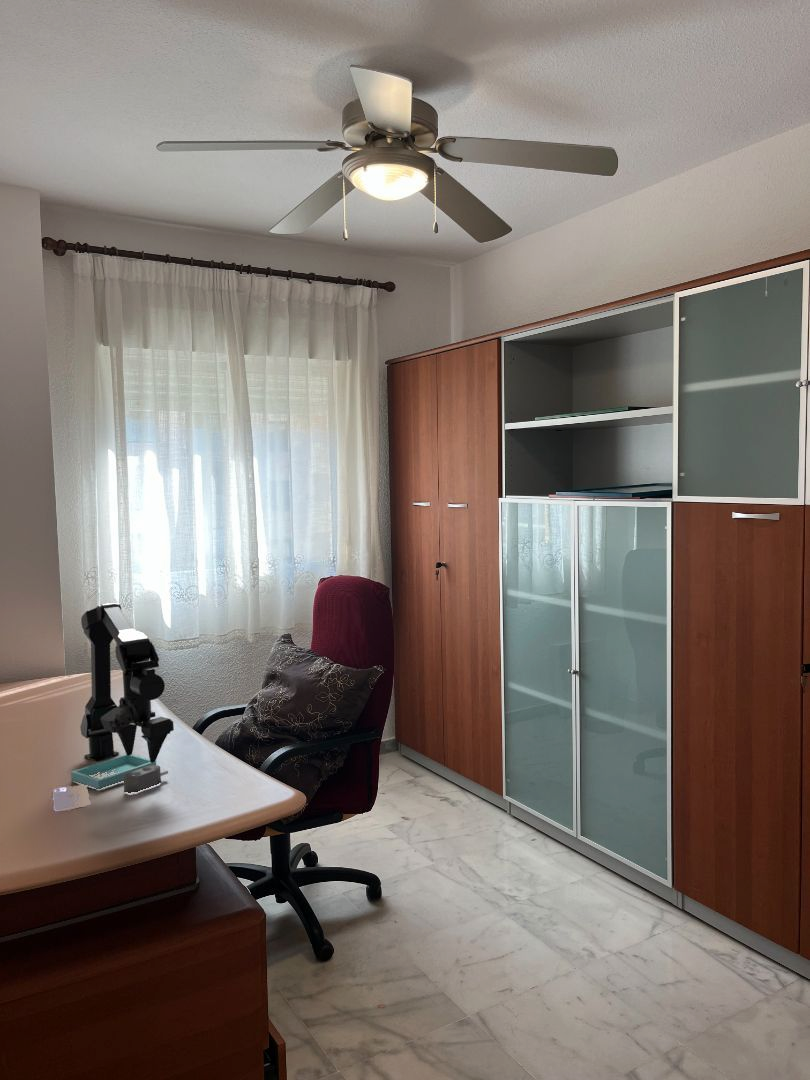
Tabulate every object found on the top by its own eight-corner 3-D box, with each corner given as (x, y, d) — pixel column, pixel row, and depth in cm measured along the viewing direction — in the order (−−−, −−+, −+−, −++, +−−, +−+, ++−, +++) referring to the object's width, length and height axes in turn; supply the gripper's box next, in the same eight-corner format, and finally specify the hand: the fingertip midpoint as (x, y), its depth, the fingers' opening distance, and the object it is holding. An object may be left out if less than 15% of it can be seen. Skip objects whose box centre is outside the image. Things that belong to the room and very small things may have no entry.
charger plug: (130, 796, 178) (129, 779, 177) (120, 793, 180) (119, 775, 180) (171, 781, 186) (170, 764, 186) (161, 778, 189) (160, 761, 189)
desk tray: (71, 782, 188) (71, 771, 188) (129, 762, 201) (128, 753, 201) (98, 791, 181) (98, 780, 181) (156, 771, 194) (156, 761, 194)
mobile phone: (53, 810, 170) (51, 788, 183) (54, 814, 170) (51, 792, 183) (91, 803, 173) (86, 782, 186) (91, 807, 173) (86, 786, 187)
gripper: (82, 695, 181) (86, 761, 181) (129, 705, 169) (134, 776, 170) (125, 684, 189) (129, 748, 190) (173, 694, 178) (177, 761, 179)
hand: (141, 758), depth 182 cm, fingers open, 9 cm apart
